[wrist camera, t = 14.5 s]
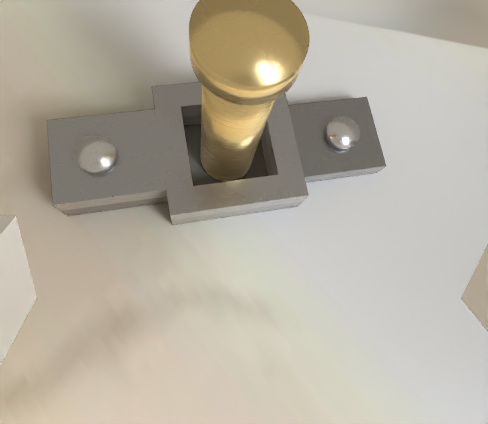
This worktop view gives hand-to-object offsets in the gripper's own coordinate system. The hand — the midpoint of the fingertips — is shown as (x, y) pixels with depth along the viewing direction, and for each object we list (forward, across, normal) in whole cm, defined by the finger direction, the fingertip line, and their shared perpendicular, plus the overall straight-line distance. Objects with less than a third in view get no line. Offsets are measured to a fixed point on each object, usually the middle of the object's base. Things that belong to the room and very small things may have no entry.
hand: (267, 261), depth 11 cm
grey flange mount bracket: (+19, 0, -5) cm, 20 cm away
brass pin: (+19, 0, -5) cm, 20 cm away
